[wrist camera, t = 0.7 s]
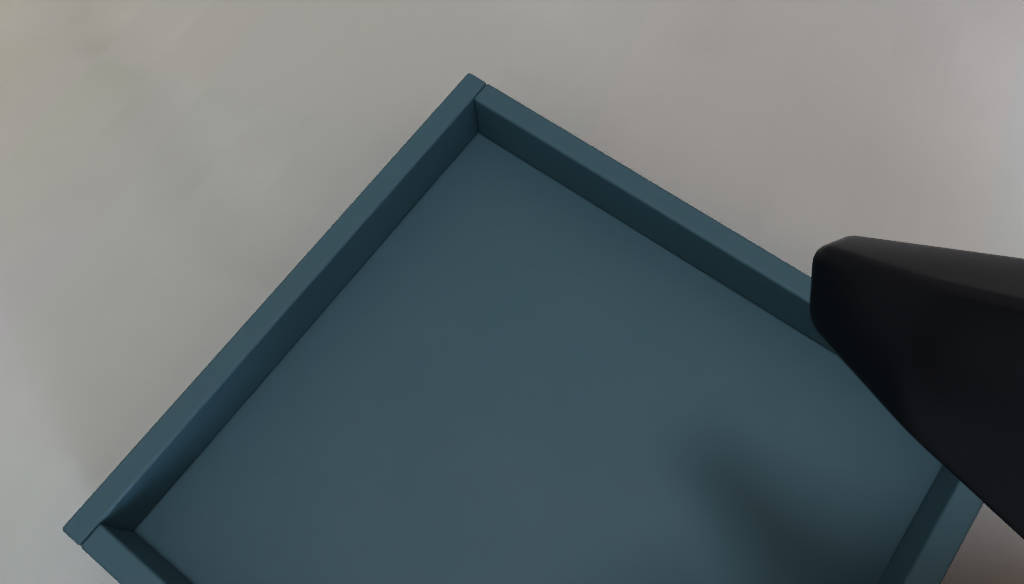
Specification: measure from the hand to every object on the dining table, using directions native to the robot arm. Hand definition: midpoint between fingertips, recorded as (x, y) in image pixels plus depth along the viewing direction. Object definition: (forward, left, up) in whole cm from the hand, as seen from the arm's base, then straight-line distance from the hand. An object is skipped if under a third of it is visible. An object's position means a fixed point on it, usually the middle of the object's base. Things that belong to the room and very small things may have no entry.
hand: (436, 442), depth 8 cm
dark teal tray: (0, -2, -12) cm, 12 cm away
